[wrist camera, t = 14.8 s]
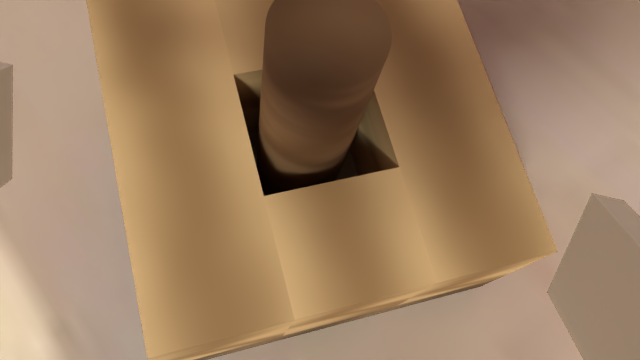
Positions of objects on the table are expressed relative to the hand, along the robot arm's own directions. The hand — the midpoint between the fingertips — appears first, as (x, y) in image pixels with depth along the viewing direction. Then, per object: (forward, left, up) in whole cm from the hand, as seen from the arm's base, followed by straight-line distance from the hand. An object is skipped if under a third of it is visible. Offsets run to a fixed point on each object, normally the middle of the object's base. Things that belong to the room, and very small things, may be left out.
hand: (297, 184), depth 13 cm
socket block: (-3, -5, -17) cm, 18 cm away
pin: (-3, -6, -15) cm, 16 cm away
